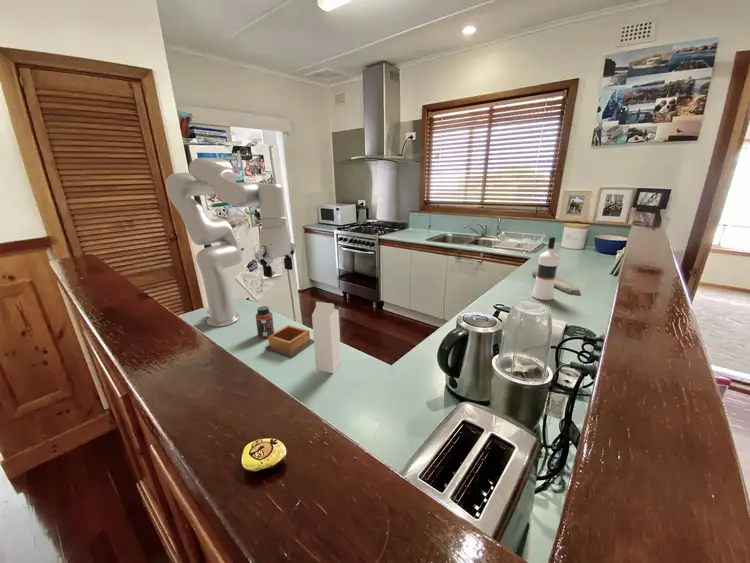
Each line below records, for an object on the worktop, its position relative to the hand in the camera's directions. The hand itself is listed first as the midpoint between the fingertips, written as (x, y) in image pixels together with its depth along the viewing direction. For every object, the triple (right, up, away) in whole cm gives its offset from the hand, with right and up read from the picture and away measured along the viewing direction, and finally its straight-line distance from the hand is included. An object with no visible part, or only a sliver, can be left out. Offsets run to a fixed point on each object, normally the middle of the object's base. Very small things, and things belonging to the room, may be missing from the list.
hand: (278, 272), depth 107 cm
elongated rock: (+132, -5, +66) cm, 148 cm away
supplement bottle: (-9, -24, +12) cm, 28 cm away
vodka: (+116, -11, +46) cm, 125 cm away
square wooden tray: (+3, -26, +4) cm, 27 cm away
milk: (+19, -30, -8) cm, 36 cm away
